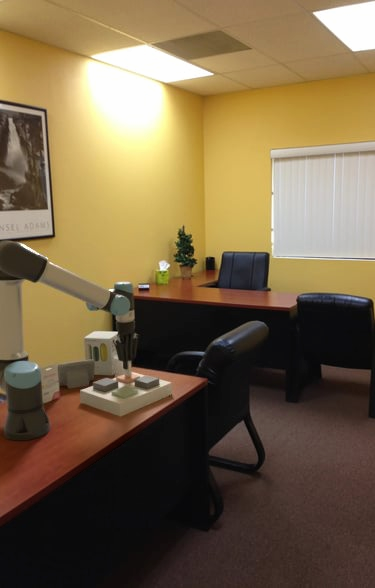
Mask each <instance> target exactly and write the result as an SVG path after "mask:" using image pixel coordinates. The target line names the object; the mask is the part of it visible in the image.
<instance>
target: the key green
mask: <svg viewBox="0 0 375 588" xmlns="http://www.w3.org/2000/svg"><path fill="white" fill-rule="evenodd" d="M135 394H138V390H136V389H133V388H130V387H126V386H124V387H122V388H119V389H116V390H114V391H112V395H114V396H117V397H120V398H123V399H125V398H128V397H130V396H133V395H135Z"/></svg>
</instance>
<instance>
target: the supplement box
mask: <svg viewBox="0 0 375 588" xmlns="http://www.w3.org/2000/svg"><path fill="white" fill-rule="evenodd" d="M117 334H118V331H108V330H107V331H102V330H100V331H98V330H97V331H95V330H94V331H93V332H91V333H89V334H87V335H86V336H84V337H83V343H84V358H85V359H84V360H90V359H92V360H94V361H95V368H94V376H95V375H96V376H115V372H114V365H113V356H115V355H117V351H116V347H115V344H114V343H113V340H115V339H116V338H117Z"/></svg>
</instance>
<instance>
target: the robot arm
mask: <svg viewBox="0 0 375 588" xmlns="http://www.w3.org/2000/svg"><path fill="white" fill-rule="evenodd" d="M25 281H29V282H31V283H33V284H37V283H40V284H43V285H46V286H48V287H50V288H53V289H54V290H56V291H59V292H61V293H64V294H66V295H69V296H71V297H74V298H75V299H78V300H80V301H82V302H85V304H86V305H85V306H86V308H87V310H89V311H90V312H91V311H92V312H93V311H103V312H107V313H109V314H111V315H114V316H115V320H116V321H115V325H116V330H117V331H116V332H118V334H117V338H116V339H115V340H113V343H114V344H115V347H116V351H117V355H118V359H119V361H123V369H124V373H125V376H127V377H131V376H132V372H133V371H132V368H133V361H134V360H135V359H136V356H137V348H138V342H139V338H140V334H139V333H136V332H135V329H136V321H135V297H134V294H135V293H134V292H135V291H134V285H133V283H132V282H129V281H118V282H115V283H114V284H113V288H110V289H109V288H107V287H103V286H102V285H99V284H97V283H95V282H93V281H91V280H90V279H89V280H88V279H86V278H84V277H83V276H80V275H78V274H76V273H74V272H72V271H69V270H68V269H65V268H62V267H61V266H59V265H57V264H55V263H53V262H50V261H49V259H48V257H47V256H45V255H42V254H41V253H39V252H37V251H35V250H34V249H32V248H31V247H29V246H27V245H25V244H24V243H21V242H18V241H12V240H7V239H6V240H1V241H0V390H1V391H2V392H4V393H5V396H6V397H5V398H6V407H7V408H6V409H7V414H6V418H5V423H4V426H3V435H4V437H5V438H6V439H7V440H11V441H30V440H34V439H37V438H39V437H42V436H45V435H46V434H47V433H49V431H50V429H51V424H50V423H51V422H50V420H49V417H48V415H47V413H46V411H45V408H44V404H43V398H42V384H41V372H40V368H41V367H40V366H39V365H38V364H37V363H36V362H34V361H33V362H32V361H29V353H28V352H27V351H26V350H25V346H24V319H23V317H24V316H23V315H24V313H23V287H22V286H23V283H24V282H25Z"/></svg>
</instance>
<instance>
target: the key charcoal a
mask: <svg viewBox="0 0 375 588" xmlns="http://www.w3.org/2000/svg"><path fill="white" fill-rule="evenodd" d="M113 379H114V378H109V377H104V378H101V379H99V380H97V381H92V386H93V389H95V390H98V391H101V392H108V391H110V390H113V389H116V388H118V381H116V380H113Z"/></svg>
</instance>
